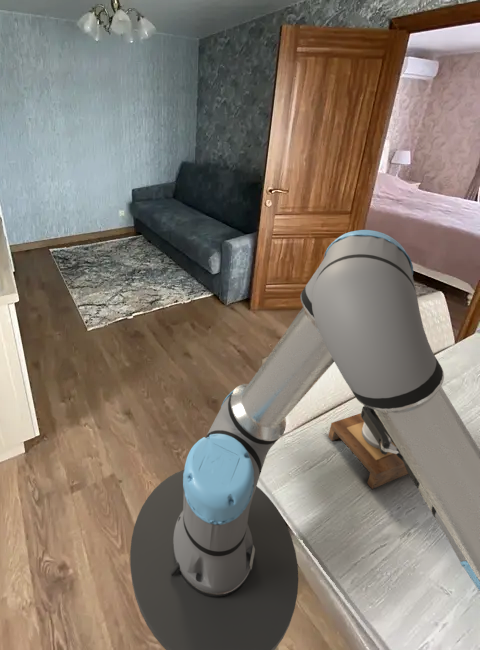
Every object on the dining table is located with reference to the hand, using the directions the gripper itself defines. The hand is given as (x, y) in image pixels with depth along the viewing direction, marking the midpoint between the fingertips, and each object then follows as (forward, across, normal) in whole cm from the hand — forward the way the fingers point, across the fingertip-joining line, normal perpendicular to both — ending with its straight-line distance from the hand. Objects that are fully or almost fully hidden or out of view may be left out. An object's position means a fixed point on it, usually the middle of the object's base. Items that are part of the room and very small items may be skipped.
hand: (375, 387), depth 84 cm
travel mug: (-5, 0, -11) cm, 12 cm away
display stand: (-5, 0, -16) cm, 17 cm away
